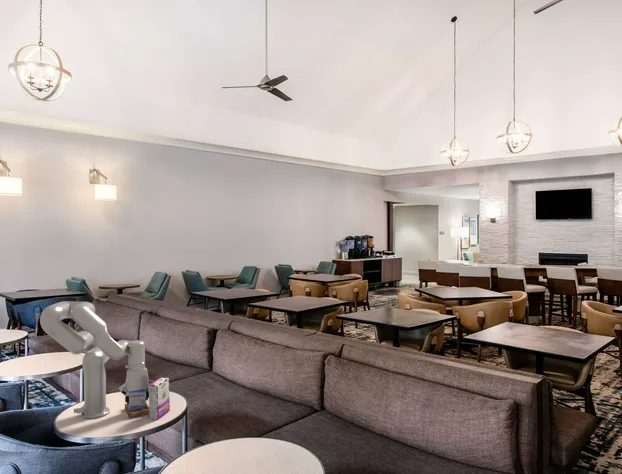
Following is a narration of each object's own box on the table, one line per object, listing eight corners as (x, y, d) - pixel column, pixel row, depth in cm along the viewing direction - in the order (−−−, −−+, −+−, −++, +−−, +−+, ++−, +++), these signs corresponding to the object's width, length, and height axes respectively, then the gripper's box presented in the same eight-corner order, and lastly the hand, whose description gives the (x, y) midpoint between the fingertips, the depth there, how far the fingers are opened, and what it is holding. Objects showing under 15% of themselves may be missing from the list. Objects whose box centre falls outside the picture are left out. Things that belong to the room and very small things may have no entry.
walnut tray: (129, 418, 215) (129, 413, 215) (124, 408, 227) (124, 403, 227) (150, 414, 220) (150, 409, 219) (144, 404, 232) (144, 400, 231)
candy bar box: (160, 410, 225) (160, 377, 224) (170, 410, 224) (169, 377, 223) (148, 419, 214) (148, 384, 214) (158, 420, 213) (157, 385, 213)
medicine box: (129, 409, 219) (128, 392, 219) (128, 406, 223) (128, 389, 223) (146, 407, 223) (146, 389, 223) (145, 403, 227) (145, 386, 227)
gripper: (119, 371, 215) (119, 407, 215) (156, 365, 224) (157, 400, 224) (116, 367, 221) (117, 402, 222) (153, 361, 230) (153, 395, 231)
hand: (137, 401), depth 223 cm, fingers closed on medicine box, 8 cm apart
